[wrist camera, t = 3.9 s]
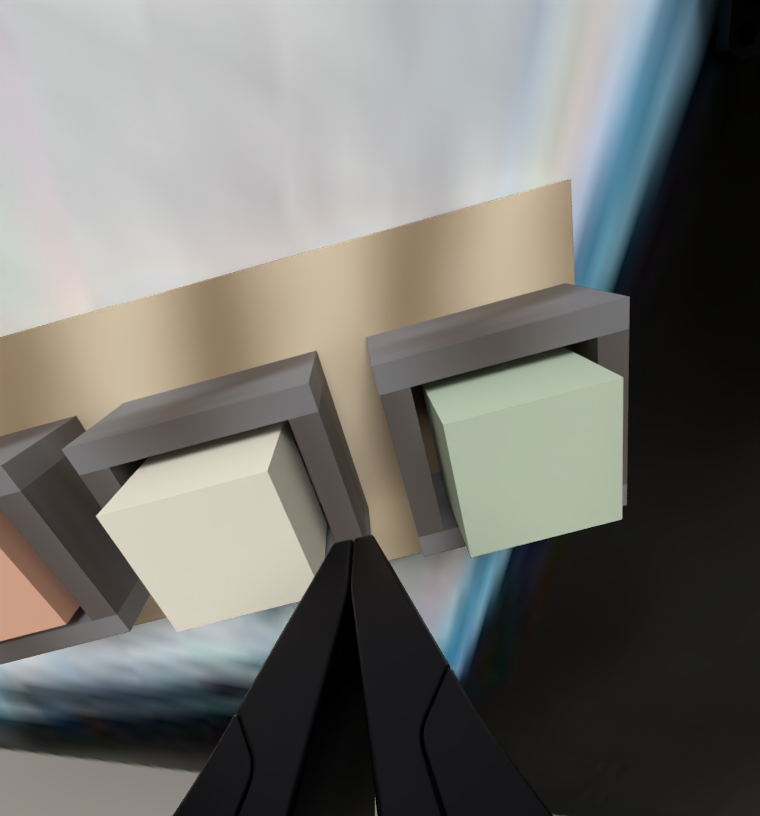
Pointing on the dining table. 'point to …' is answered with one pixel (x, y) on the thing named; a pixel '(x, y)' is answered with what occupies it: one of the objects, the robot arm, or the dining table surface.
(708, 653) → the dining table surface
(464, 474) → the button sage
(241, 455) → the button cream
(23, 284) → the dining table surface
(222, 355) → the button panel
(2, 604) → the button terracotta
